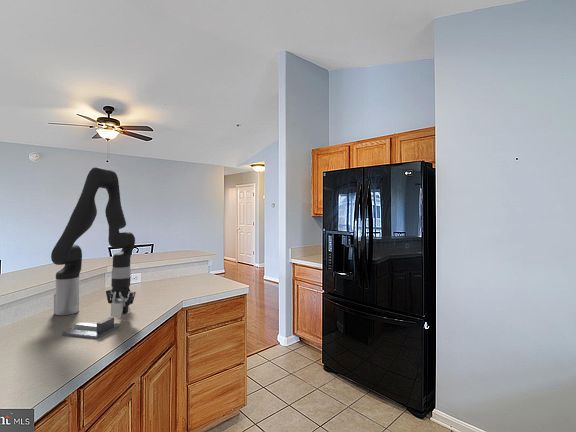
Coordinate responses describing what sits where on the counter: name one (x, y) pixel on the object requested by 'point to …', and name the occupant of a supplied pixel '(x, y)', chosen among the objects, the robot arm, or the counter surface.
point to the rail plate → (92, 329)
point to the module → (117, 308)
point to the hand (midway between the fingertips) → (120, 313)
